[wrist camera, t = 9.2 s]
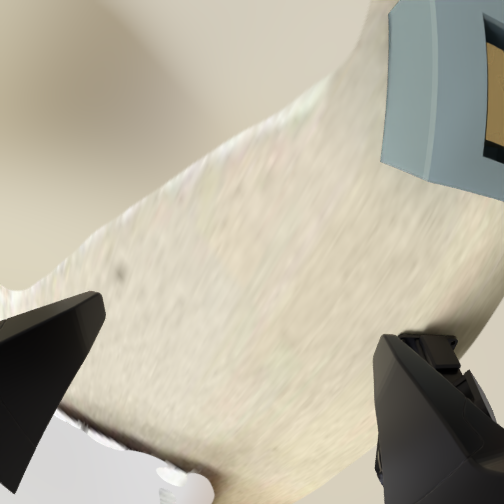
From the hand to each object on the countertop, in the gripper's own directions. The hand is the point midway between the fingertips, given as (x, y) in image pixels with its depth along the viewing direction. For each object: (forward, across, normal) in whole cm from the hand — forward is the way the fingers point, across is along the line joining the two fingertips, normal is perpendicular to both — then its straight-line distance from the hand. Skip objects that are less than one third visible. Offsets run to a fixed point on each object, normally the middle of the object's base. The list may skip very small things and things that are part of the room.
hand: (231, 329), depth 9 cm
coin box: (+13, -12, -10) cm, 20 cm away
